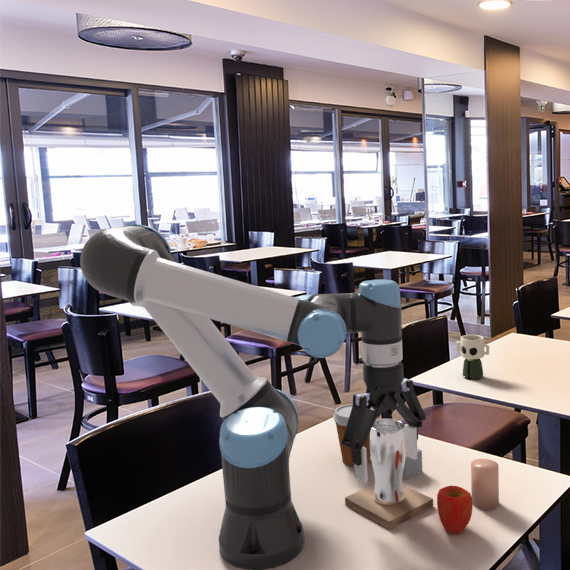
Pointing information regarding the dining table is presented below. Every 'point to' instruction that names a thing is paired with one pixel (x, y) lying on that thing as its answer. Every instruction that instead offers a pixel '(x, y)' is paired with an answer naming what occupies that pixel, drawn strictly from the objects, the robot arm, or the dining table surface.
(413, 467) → the slate block
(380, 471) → the steel tumbler
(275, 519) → the robot arm
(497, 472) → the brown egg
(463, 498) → the apple
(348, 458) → the disposable coffee cup
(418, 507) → the walnut board
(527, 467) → the dining table surface
